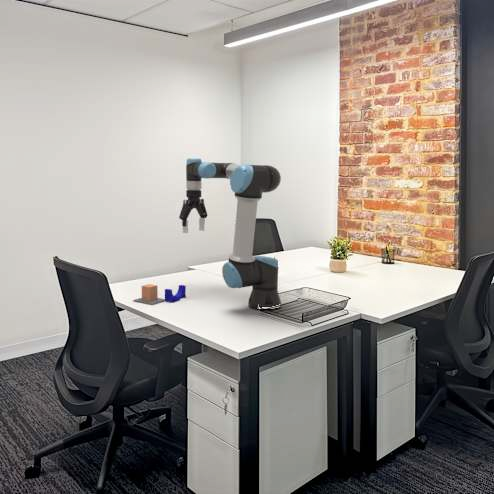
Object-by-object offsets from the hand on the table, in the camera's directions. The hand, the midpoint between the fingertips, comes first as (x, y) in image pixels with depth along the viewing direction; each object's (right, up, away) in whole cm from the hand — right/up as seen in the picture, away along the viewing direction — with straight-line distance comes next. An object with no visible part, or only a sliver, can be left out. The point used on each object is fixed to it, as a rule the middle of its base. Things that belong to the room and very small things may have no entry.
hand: (193, 231), depth 265 cm
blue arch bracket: (-7, -33, -13) cm, 37 cm away
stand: (-19, -33, -17) cm, 42 cm away
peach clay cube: (-19, -33, -17) cm, 42 cm away
